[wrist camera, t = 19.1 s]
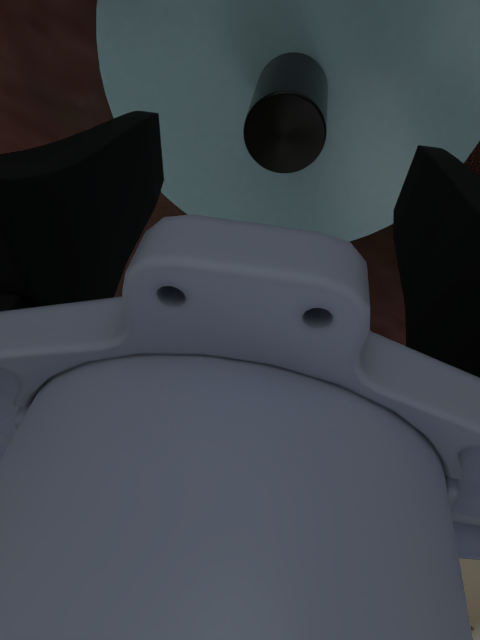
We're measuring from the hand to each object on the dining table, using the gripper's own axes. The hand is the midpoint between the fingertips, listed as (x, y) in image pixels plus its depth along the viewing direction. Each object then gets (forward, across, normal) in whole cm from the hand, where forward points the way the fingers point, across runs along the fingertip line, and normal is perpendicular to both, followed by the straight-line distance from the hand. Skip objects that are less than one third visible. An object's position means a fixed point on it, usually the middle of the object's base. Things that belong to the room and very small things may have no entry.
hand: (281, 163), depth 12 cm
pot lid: (+6, 0, 0) cm, 6 cm away
